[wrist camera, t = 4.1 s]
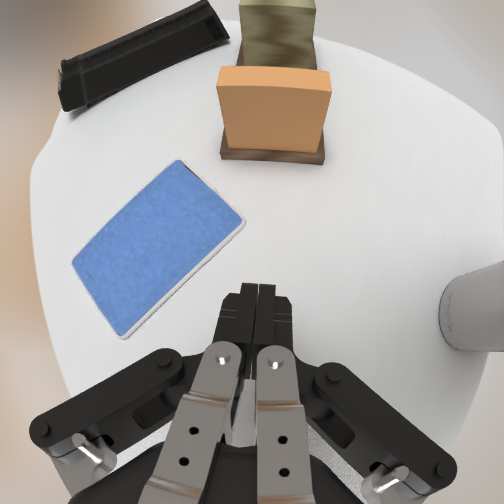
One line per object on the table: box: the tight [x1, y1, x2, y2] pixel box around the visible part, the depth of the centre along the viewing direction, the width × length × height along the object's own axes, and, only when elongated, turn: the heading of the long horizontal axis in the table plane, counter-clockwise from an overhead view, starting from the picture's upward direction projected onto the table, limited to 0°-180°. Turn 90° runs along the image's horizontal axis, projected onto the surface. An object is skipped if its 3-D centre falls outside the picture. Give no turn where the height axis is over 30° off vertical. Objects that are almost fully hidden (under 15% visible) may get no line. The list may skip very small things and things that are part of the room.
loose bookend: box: [216, 66, 332, 153], centre depth 26 cm, size 10×3×10 cm, turn 85°
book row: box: [220, 0, 325, 165], centre depth 29 cm, size 12×26×14 cm, turn 175°
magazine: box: [57, 0, 230, 112], centre depth 34 cm, size 17×3×30 cm
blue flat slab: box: [71, 158, 246, 340], centre depth 30 cm, size 19×13×1 cm, turn 134°
